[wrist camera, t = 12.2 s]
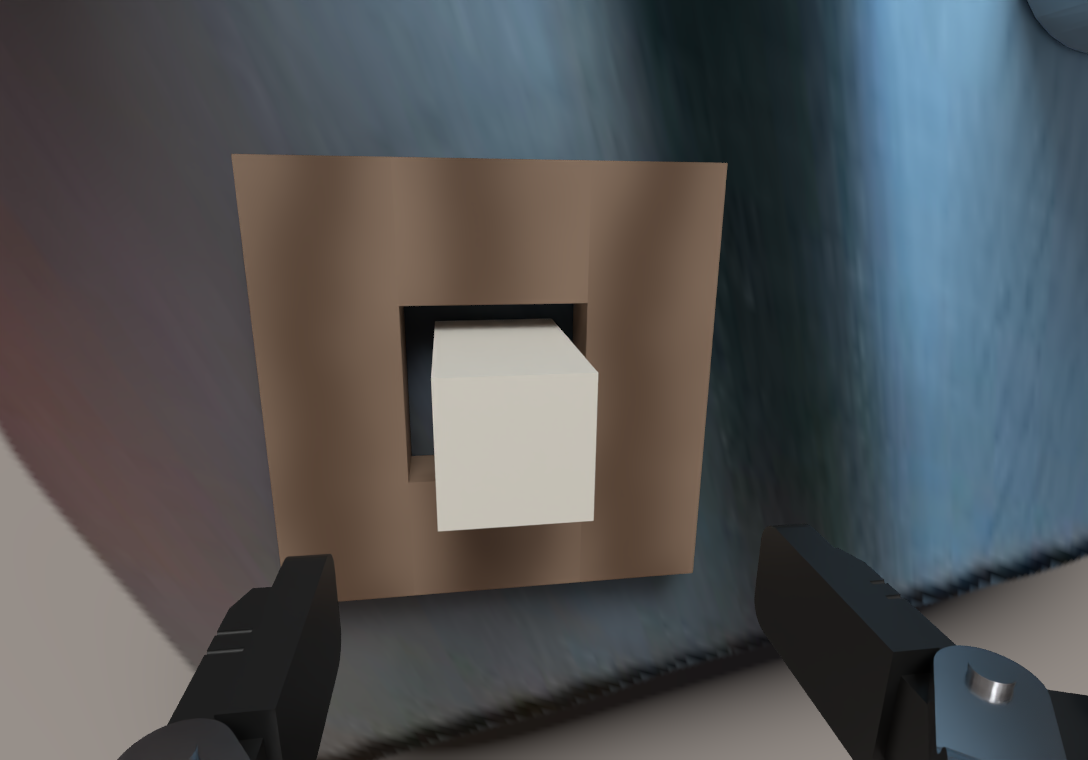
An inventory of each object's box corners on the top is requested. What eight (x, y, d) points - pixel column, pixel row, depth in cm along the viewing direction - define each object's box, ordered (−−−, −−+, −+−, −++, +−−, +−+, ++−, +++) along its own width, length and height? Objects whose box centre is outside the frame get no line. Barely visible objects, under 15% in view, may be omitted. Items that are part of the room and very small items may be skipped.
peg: (551, 318, 25) (598, 372, 17) (550, 426, 26) (593, 520, 19) (435, 320, 24) (430, 378, 17) (439, 431, 26) (437, 531, 18)
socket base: (699, 166, 24) (727, 163, 22) (671, 541, 29) (692, 572, 26) (254, 158, 22) (231, 154, 19) (299, 568, 26) (285, 605, 24)
